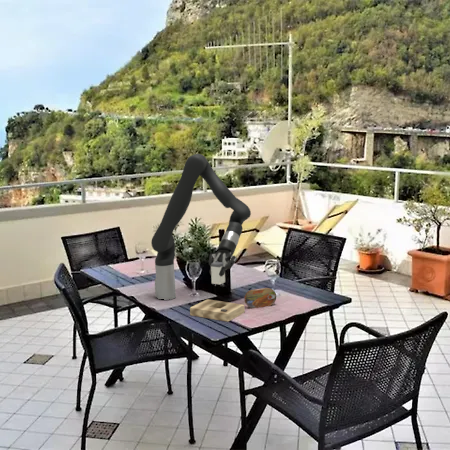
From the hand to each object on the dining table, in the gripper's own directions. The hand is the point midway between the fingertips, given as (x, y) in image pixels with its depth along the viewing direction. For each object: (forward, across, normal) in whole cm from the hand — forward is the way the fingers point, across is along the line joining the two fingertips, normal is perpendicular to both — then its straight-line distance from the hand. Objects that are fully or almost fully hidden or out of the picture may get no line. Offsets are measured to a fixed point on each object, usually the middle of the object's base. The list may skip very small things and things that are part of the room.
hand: (215, 274), depth 249 cm
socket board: (+13, 0, +13) cm, 18 cm away
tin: (0, +12, +25) cm, 28 cm away
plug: (+2, 0, +4) cm, 5 cm away
